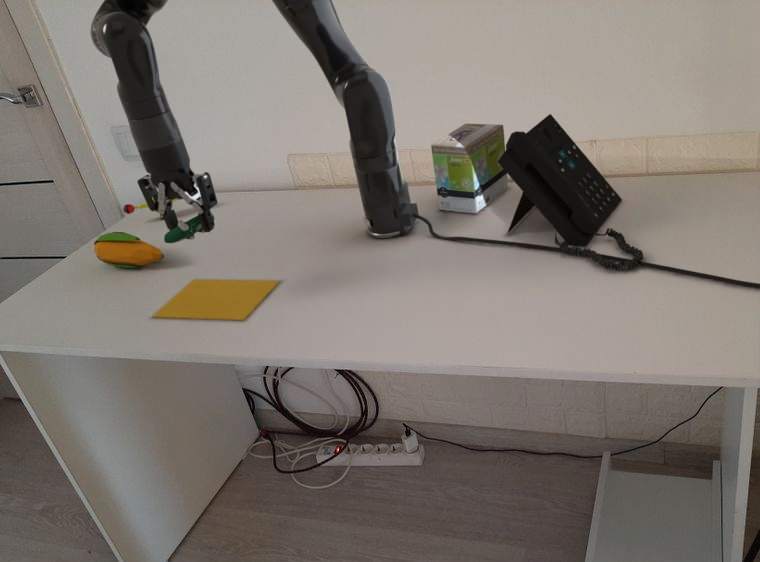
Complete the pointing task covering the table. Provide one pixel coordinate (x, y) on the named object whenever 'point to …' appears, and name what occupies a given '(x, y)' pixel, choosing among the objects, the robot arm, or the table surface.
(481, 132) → the tea box
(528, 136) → the office phone
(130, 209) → the toy figure
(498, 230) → the table surface
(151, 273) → the table surface
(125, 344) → the table surface
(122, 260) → the corn
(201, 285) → the cloth
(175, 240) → the gaming controller
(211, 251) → the table surface
